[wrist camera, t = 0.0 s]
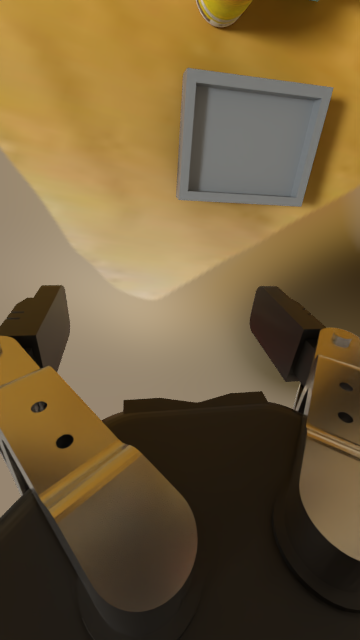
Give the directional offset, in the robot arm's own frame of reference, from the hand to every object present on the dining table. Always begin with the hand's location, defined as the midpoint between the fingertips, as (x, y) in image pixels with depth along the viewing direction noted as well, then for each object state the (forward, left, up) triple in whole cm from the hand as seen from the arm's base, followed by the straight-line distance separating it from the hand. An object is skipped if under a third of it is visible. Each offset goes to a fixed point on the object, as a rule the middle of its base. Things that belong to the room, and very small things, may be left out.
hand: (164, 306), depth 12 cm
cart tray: (-7, +12, -29) cm, 33 cm away
